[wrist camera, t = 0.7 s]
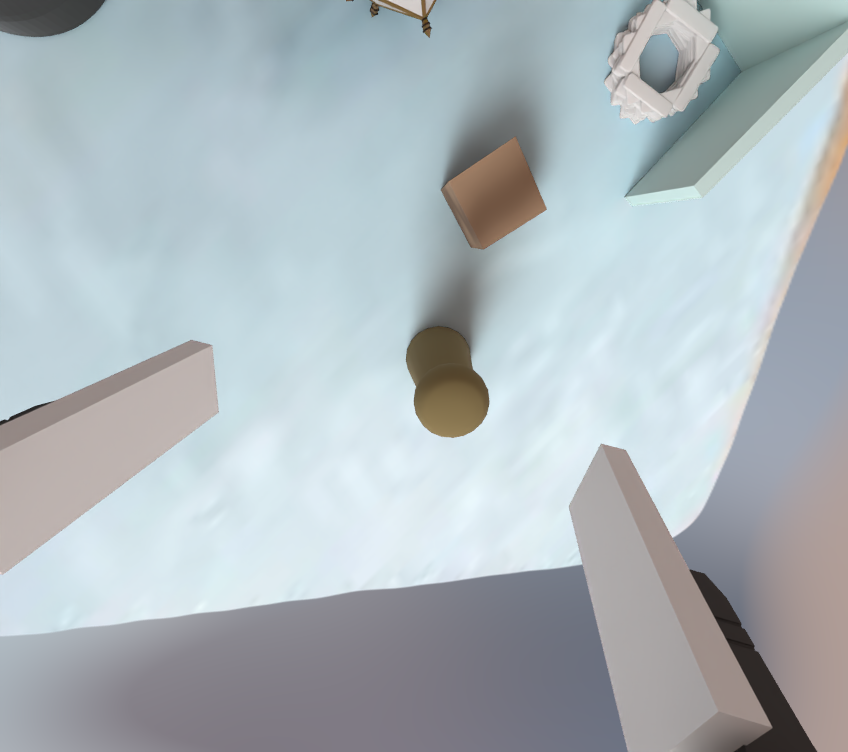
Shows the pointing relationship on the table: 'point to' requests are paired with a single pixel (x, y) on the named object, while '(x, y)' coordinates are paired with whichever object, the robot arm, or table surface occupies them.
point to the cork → (446, 383)
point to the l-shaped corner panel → (743, 99)
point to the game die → (407, 9)
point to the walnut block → (494, 196)
